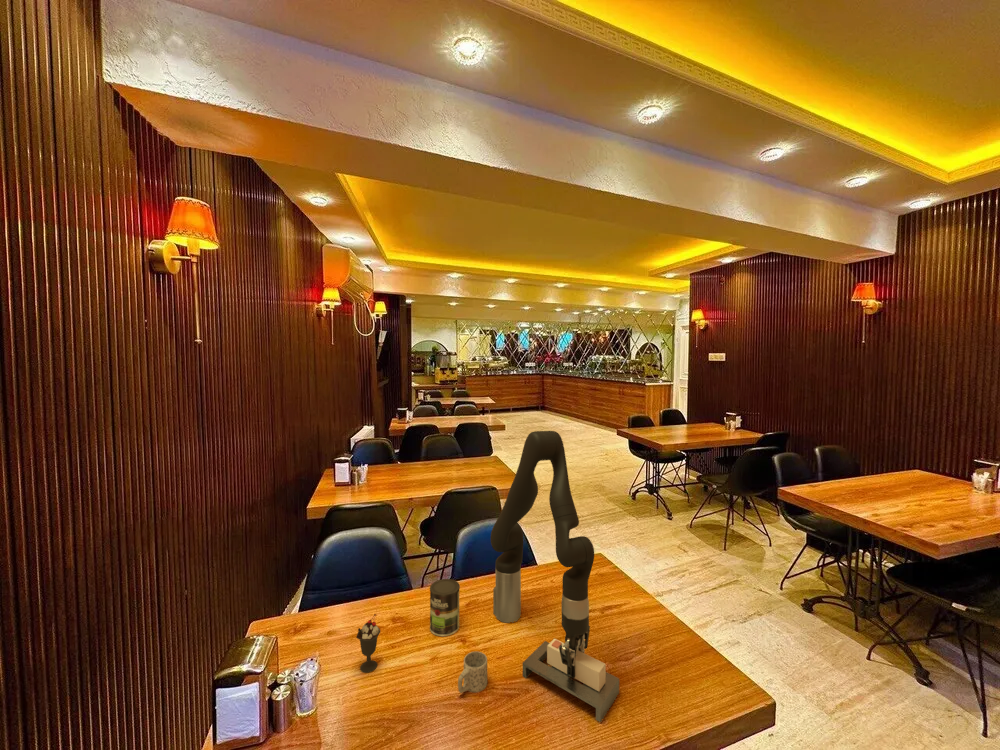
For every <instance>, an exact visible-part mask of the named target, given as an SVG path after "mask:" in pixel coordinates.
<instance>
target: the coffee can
mask: <svg viewBox="0 0 1000 750" xmlns="http://www.w3.org/2000/svg"><path fill="white" fill-rule="evenodd" d="M429 586H430V587H429V591H430V596H429V598H430V599H429V601H430V602H429V605H430V607H429V610H430V611H429V631H430V632H431V634H433V635H434V636H436V637H442V638H443V637H450V636H451V635H454V634H455V633H457V632H458V631H459V629H460V589H461V585H460V582H458V581H457V580H455V579H451V578H442V579H441V578H440V579H439V580H436V581H434V582H432V584H430V585H429Z"/></svg>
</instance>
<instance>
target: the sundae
mask: <svg viewBox="0 0 1000 750" xmlns="http://www.w3.org/2000/svg"><path fill="white" fill-rule="evenodd" d="M376 616H377V614H376V613H374V614H373V616H372V618H370V620H368V621H367V622H366V623H364V624H363V626H362V627H361V628H360V627H358V628H357V631H358V632H357V634H356V639H358V640H359V643H360V650H361V654H362V655H363V656H364V657H366V660H365V661H364V662H362V664H361V665H360V667H359V670H360V671H361V672H362V673H364V674H366V673H367V674H368V673H371V672H373V671H375V670H377V667H378V662H377V661H376V660H374V659H373V660H372V655H373V654H374V653H375V652H376V650H377V645H378V644H377V643H378V637H379V635H380V634H381V629H380V628H379V626H378V625H377V623H376V621H372V620H374V619H375V617H376Z"/></svg>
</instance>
